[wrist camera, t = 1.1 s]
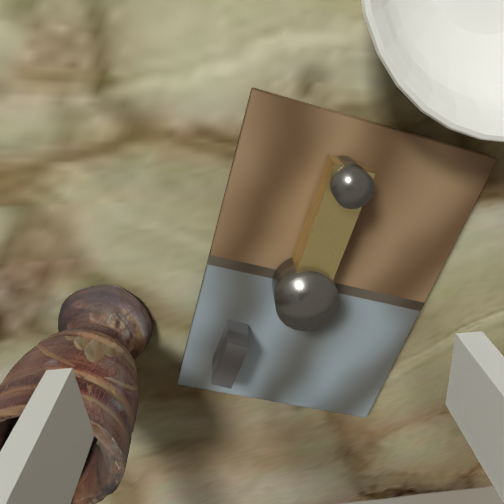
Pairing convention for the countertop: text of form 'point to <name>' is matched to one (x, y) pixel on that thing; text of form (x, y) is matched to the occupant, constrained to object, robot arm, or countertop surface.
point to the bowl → (445, 59)
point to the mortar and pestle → (90, 378)
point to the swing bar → (322, 245)
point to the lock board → (351, 265)
